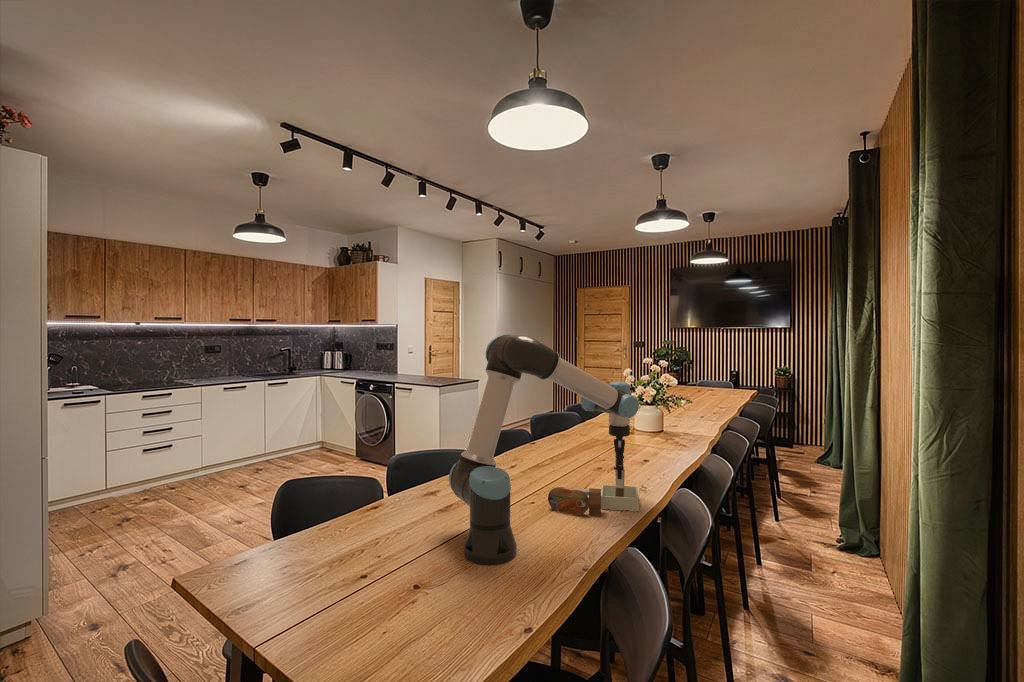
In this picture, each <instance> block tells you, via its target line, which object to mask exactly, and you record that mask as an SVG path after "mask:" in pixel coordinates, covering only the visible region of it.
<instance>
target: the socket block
mask: <svg viewBox="0 0 1024 682" xmlns="http://www.w3.org/2000/svg"><path fill="white" fill-rule="evenodd" d="M575 489H576V490H581V491H583V492H584V493H585V494H586V495H587V497H588V499H589V489H585V488H584V489H582V488H575Z"/></svg>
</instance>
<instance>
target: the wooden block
mask: <svg viewBox="0 0 1024 682" xmlns="http://www.w3.org/2000/svg"><path fill="white" fill-rule="evenodd" d="M588 490H589V507H588V515H589V516H599V517H600V516H601V515H602V509H601V488H592V487H591V488H590V487H589V489H588Z"/></svg>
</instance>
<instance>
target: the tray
mask: <svg viewBox="0 0 1024 682" xmlns="http://www.w3.org/2000/svg"><path fill="white" fill-rule="evenodd" d="M600 489H601V510H608V509H610V511H622V510H630V511H629V512H636V511H639V512H640V497H639V496H640V495H639V492H638V486H631V485H629V486H628V485H624V497H615V493H616V484H615V485H613V484H612V485H611V484H601V488H600Z"/></svg>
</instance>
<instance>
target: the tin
mask: <svg viewBox="0 0 1024 682" xmlns="http://www.w3.org/2000/svg"><path fill="white" fill-rule="evenodd" d="M576 489H577V488H569V487H564V486H558V487H554V488H552V489H550V490H549V493H548V495H547V500H548V501H547V502H548V504H549V506H550V508H551V509H552V510H553V511H555V512H557V511H559V513H562V512H563V514H567V513H568V514H569V515H573V516H582V515H583V514H585V513H586V512H587V511H588V510H589V499H588V497H587V495H586V494H585V493H584V492H583V491H581V490H576Z"/></svg>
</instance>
